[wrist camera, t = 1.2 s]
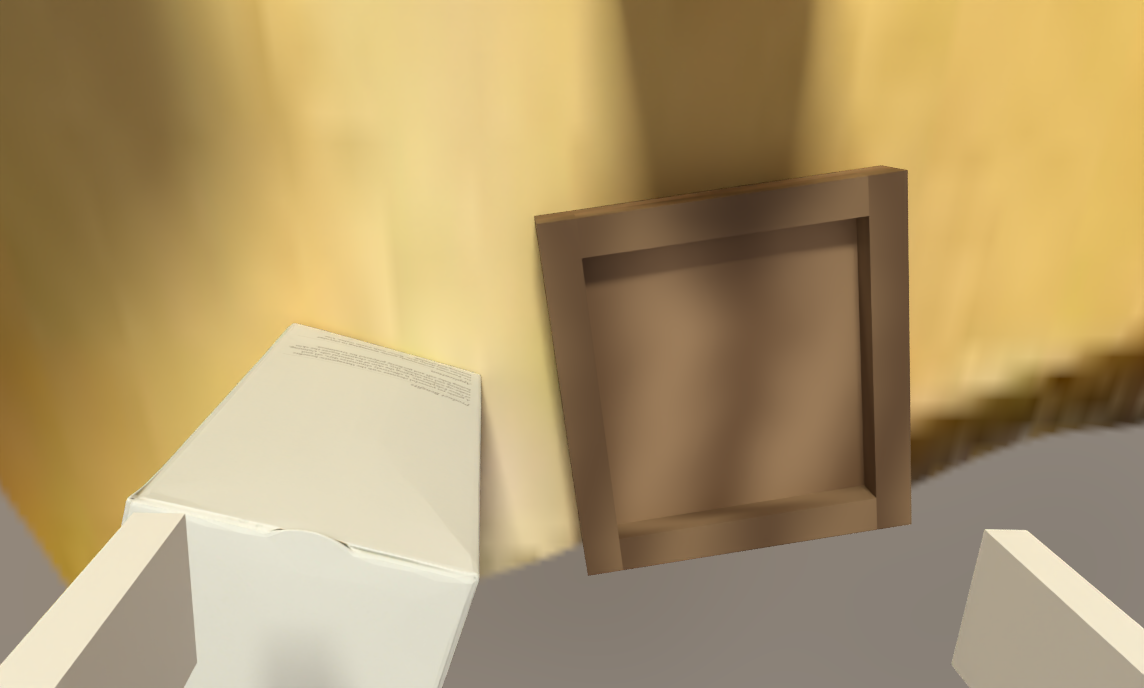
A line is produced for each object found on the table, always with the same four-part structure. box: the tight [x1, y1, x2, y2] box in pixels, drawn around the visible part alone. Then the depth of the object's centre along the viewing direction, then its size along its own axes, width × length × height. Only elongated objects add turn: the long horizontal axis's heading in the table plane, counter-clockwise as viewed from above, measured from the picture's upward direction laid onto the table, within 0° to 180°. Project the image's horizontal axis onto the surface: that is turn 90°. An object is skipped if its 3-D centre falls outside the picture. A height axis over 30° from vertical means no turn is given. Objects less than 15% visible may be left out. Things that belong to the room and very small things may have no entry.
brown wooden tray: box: [534, 166, 911, 575], centre depth 33 cm, size 14×15×2 cm
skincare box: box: [122, 323, 481, 688], centre depth 26 cm, size 8×7×16 cm
